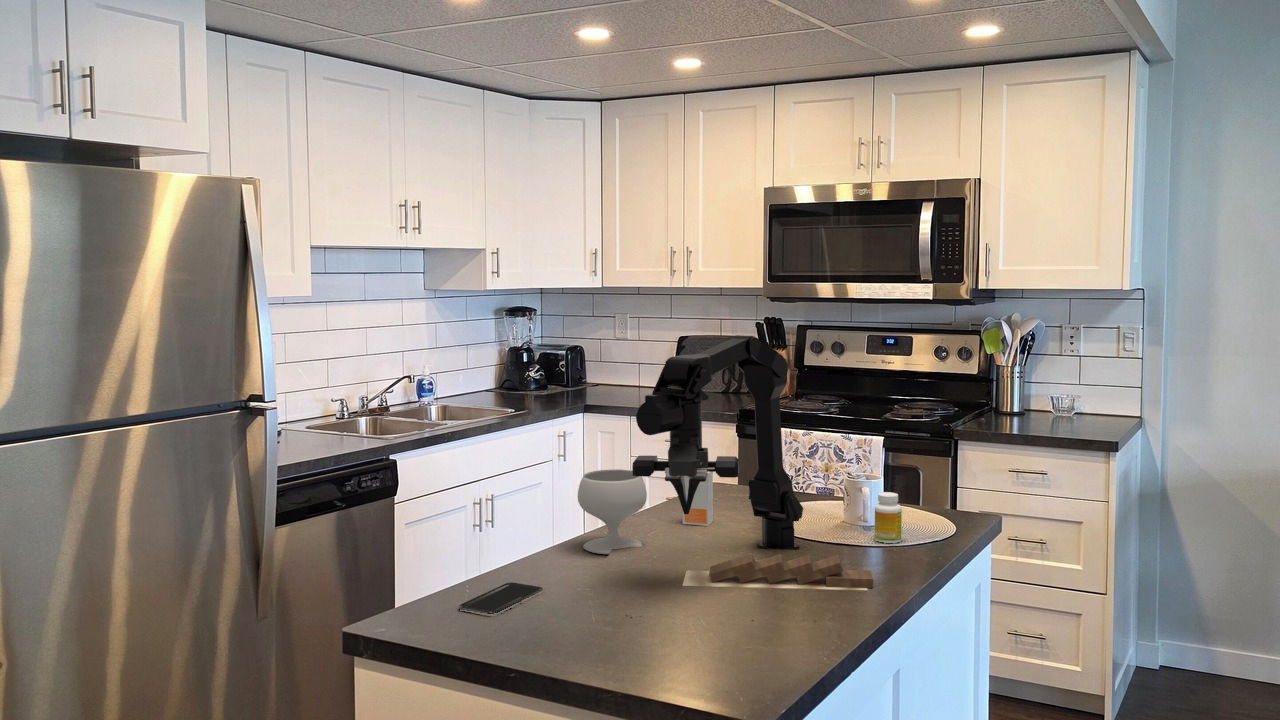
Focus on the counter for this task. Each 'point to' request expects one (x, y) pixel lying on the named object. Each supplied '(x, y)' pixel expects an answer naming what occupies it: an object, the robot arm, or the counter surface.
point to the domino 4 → (821, 569)
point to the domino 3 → (792, 569)
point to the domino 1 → (732, 568)
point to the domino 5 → (850, 579)
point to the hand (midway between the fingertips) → (686, 513)
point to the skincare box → (700, 503)
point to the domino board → (755, 582)
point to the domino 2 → (763, 568)
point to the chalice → (611, 504)
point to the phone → (500, 598)
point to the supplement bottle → (888, 518)
